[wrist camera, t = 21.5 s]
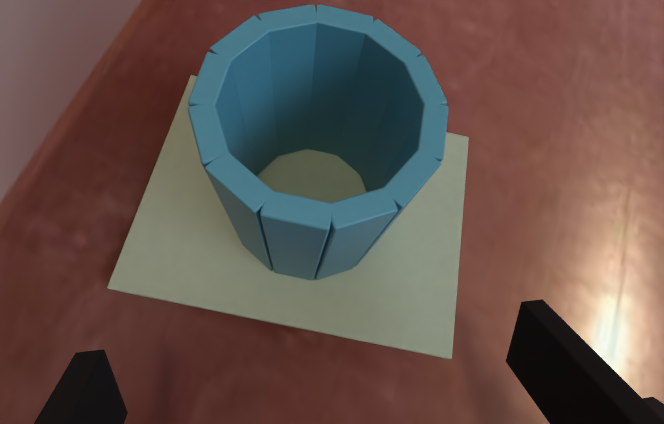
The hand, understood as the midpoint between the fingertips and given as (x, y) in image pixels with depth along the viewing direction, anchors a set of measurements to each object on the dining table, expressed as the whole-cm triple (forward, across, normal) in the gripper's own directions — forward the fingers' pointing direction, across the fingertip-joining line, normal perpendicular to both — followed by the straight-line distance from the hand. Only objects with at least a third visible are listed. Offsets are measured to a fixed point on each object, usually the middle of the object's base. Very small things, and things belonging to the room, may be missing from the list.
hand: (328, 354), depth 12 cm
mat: (+9, 0, +1) cm, 9 cm away
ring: (+8, 0, +2) cm, 9 cm away
